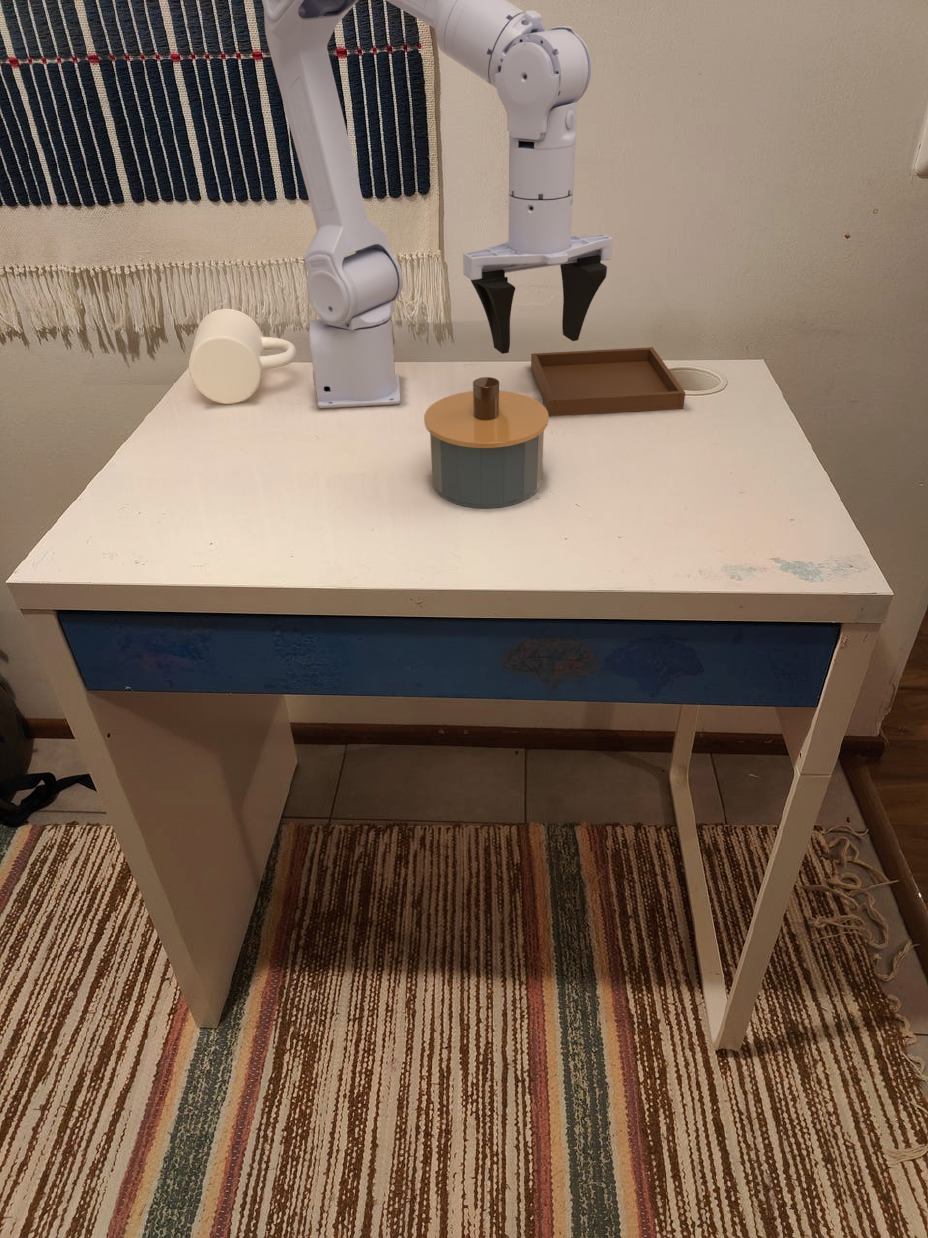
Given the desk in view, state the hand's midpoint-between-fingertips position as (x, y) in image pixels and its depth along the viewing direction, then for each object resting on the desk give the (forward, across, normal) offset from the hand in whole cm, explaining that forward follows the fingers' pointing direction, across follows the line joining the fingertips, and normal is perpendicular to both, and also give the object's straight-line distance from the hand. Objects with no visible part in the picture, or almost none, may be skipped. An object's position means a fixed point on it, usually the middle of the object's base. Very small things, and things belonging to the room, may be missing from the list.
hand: (536, 343), depth 85 cm
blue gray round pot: (+10, -8, -6) cm, 15 cm away
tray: (+10, +14, +9) cm, 19 cm away
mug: (+10, -24, +28) cm, 38 cm away
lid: (+4, -8, -6) cm, 11 cm away
